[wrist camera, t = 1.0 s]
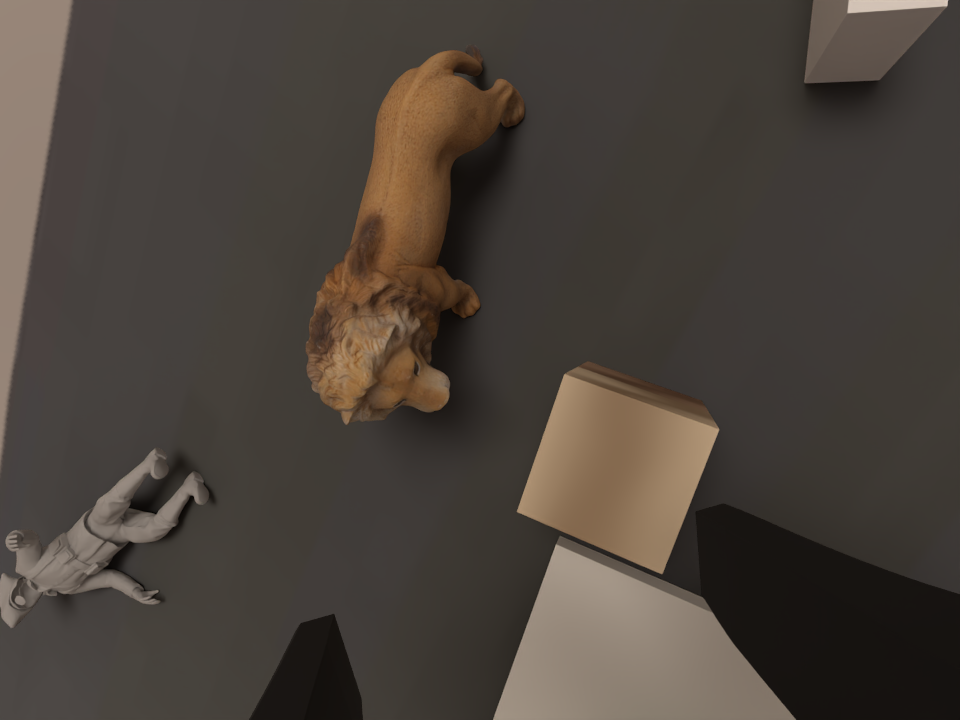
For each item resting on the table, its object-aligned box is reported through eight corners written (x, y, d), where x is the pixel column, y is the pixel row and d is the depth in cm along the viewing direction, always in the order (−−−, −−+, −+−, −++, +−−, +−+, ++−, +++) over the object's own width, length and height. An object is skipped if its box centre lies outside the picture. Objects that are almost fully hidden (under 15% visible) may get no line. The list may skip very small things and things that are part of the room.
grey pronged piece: (254, 528, 30) (72, 690, 29) (244, 475, 34) (82, 616, 33) (123, 450, 25) (-98, 640, 25) (129, 398, 29) (-62, 560, 28)
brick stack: (701, 400, 22) (719, 429, 16) (660, 508, 23) (662, 574, 17) (588, 361, 24) (564, 373, 17) (551, 464, 24) (517, 511, 18)
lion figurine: (498, 406, 25) (415, 450, 16) (385, 389, 26) (254, 421, 18) (535, 50, 23) (465, -110, 15) (414, 53, 25) (287, -90, 16)
